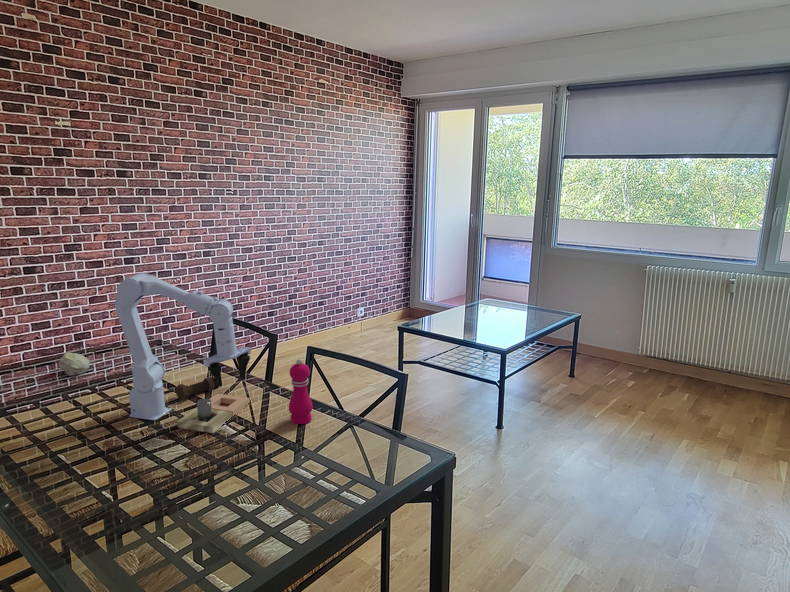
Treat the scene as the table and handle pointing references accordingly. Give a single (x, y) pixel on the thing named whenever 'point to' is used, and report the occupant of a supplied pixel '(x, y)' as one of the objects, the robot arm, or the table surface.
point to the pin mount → (211, 426)
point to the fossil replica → (73, 363)
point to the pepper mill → (300, 394)
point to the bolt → (195, 388)
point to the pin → (204, 410)
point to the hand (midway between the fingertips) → (231, 381)
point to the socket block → (235, 402)
